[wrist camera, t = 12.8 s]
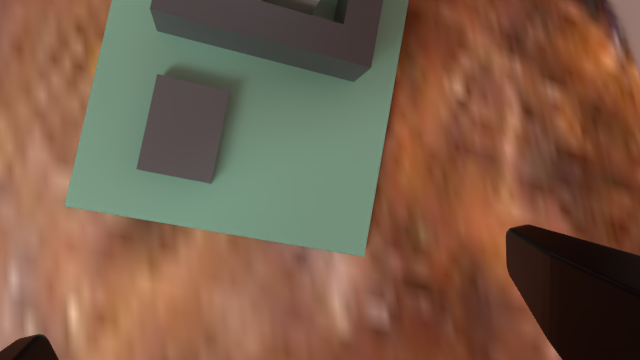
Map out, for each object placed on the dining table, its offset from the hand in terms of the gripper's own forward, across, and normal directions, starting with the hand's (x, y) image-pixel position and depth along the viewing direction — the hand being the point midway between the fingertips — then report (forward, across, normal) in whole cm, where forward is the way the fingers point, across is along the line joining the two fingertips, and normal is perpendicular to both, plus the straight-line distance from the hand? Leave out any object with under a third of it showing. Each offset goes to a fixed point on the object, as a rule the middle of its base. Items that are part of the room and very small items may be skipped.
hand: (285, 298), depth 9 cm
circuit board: (+15, 0, -3) cm, 15 cm away
